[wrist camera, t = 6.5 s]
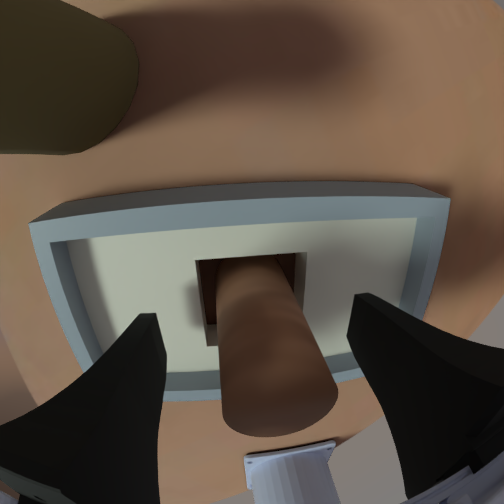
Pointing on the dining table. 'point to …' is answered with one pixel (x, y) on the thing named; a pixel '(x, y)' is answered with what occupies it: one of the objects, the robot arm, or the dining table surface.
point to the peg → (267, 352)
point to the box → (235, 245)
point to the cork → (61, 77)
